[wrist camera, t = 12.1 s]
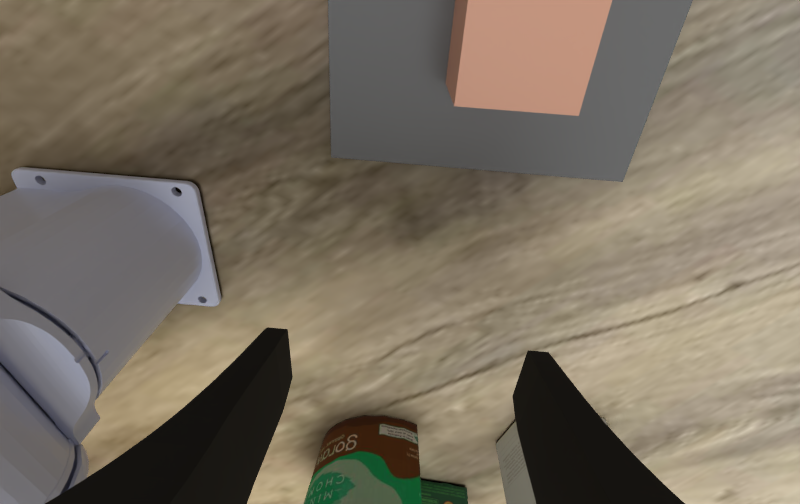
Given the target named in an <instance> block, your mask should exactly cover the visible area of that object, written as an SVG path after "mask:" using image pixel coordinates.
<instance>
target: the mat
mask: <svg viewBox="0 0 800 504" xmlns="http://www.w3.org/2000/svg"><path fill="white" fill-rule="evenodd" d="M692 1H693V0H612V3H611V7H610V10H609V13H608V17H607V20H606V24H605V27H604V31H603V34H602V37H601V41H600V44H599V48H598V51H597V55H596V58H595V61H594V65H593V68H592V72H591V75H590V79H589V82H588V85H587V89H586V92H585V96H584V99H583V103H582V106H581V109H580V113H579V116H573V115H560V114H547V113H534V112H522V111H509V110H496V109H483V108H470V107H457V106H454V105H453V102H452V99H451V97H450V94H449V91H448V89H447V86H446V75H447V67H448V58H449V50H450V41H451V33H452V24H453V16H454V7H455V0H328V22H329V72H330V123H331V157H334V158H346V159H358V160H370V161H381V162H393V163H405V164H417V165H429V166H441V167H453V168H465V169H476V170H488V171H500V172H512V173H524V174H536V175H548V176H560V177H571V178H583V179H595V180H607V181H619V182H623V180H624V177H625V174H626V172H627V169H628V167H629V164H630V161H631V159H632V156H633V154H634V151H635V148H636V146H637V143H638V141H639V138H640V136H641V133H642V130H643V128H644V125H645V123H646V120H647V117H648V115H649V112H650V110H651V107H652V104H653V102H654V99H655V97H656V94H657V91H658V89H659V86H660V84H661V81H662V79H663V76H664V73H665V71H666V68H667V66H668V63H669V60H670V58H671V55H672V53H673V50H674V47H675V45H676V42H677V40H678V37H679V35H680V32H681V29H682V27H683V24H684V22H685V19H686V16H687V14H688V11H689V9H690V6H691V3H692Z"/></svg>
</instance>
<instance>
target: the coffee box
mask: <svg viewBox="0 0 800 504" xmlns="http://www.w3.org/2000/svg"><path fill="white" fill-rule="evenodd" d="M420 481H421V496H422V504H468V501H467V499H468V497H467V489H466V488H465V487H459V486H453V485H451V484H448V483H435V482H429V481H424V480H420Z"/></svg>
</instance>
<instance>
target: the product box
mask: <svg viewBox="0 0 800 504" xmlns="http://www.w3.org/2000/svg"><path fill="white" fill-rule="evenodd" d="M601 419H602V420H603V421H604V422H605V424H606V425H607V422H606V420H605V419H604V418H601ZM607 426H608V425H607ZM496 449H497V454H498V459H499V464H500V470H501V475H502V481H503V486H504V492H505V497H506V503H507V504H536V501H535V497H534V493H533V489H532V485H531V482H530V478H529V474H528V470H527V466H526V463H525V459H524V455H523V451H522V447H521V443H520V439H519V435H518V431H517V425H516V421H515V422H514V423H513V425H512V426H511V427H510V428H509V429H508V430H507V432H506V433H505V434H504V435H503V436H502V437H501V438H500V440H499V441H498V442H497V444H496Z"/></svg>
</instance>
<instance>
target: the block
mask: <svg viewBox="0 0 800 504" xmlns="http://www.w3.org/2000/svg"><path fill="white" fill-rule="evenodd" d="M611 3H612V0H455V7H454V16H453V24H452V33H451V41H450V50H449V58H448V67H447V75H446V86H447V89H448V91H449V94H450V97H451V99H452V102H453V105H454V106H457V107H470V108H483V109H496V110H509V111H522V112H534V113H547V114H560V115H573V116H579V113H580V109H581V106H582V103H583V99H584V96H585V92H586V89H587V85H588V82H589V79H590V75H591V72H592V68H593V65H594V61H595V58H596V55H597V51H598V48H599V44H600V41H601V37H602V34H603V31H604V27H605V24H606V20H607V17H608V13H609V10H610V7H611Z"/></svg>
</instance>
